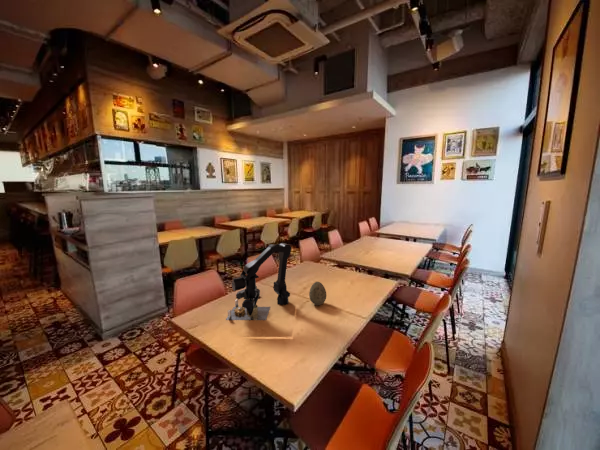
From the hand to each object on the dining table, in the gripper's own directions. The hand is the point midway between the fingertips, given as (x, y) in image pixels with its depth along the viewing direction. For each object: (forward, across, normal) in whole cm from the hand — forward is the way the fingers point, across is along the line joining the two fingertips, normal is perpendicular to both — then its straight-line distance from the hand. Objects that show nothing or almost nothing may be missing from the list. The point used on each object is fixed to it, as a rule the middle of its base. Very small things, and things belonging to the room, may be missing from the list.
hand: (252, 311), depth 141 cm
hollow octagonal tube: (+1, 0, 0) cm, 1 cm away
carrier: (+2, 0, -2) cm, 3 cm away
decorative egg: (+2, -12, +39) cm, 41 cm away
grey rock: (+3, -22, -6) cm, 23 cm away
